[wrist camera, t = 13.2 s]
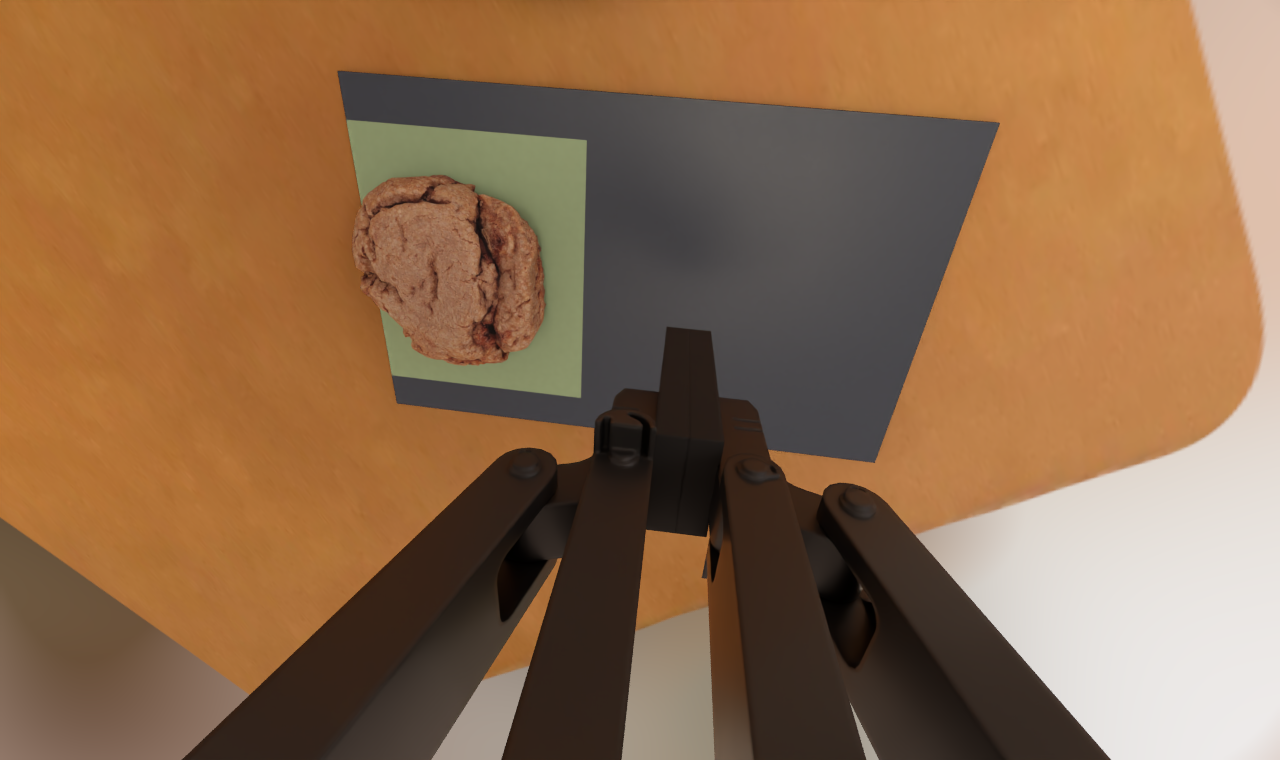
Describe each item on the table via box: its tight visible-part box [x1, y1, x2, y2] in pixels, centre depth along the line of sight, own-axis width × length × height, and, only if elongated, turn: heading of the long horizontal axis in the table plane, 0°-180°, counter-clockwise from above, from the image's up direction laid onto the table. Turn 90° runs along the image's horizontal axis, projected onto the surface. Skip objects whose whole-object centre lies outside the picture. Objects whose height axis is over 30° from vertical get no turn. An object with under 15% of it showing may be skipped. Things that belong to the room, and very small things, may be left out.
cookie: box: [352, 175, 546, 366], centre depth 24 cm, size 10×11×3 cm
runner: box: [338, 71, 1000, 463], centre depth 25 cm, size 18×30×1 cm, turn 86°
